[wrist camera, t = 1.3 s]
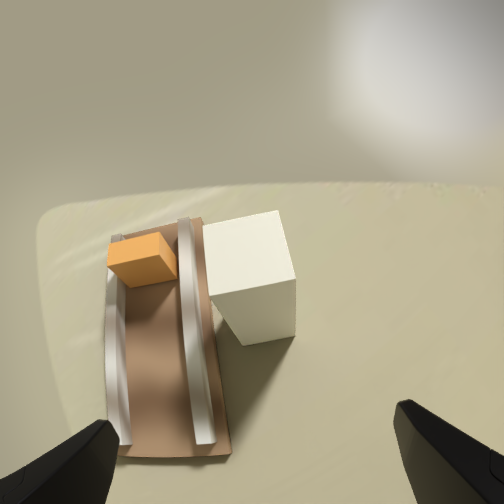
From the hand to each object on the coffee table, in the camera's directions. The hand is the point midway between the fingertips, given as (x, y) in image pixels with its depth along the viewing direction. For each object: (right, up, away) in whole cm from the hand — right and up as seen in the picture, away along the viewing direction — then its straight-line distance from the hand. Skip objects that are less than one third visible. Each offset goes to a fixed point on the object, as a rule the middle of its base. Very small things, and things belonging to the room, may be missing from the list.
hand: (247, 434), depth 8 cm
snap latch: (-8, +3, +17) cm, 19 cm away
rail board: (-7, -1, +16) cm, 17 cm away
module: (+1, 0, +16) cm, 16 cm away
